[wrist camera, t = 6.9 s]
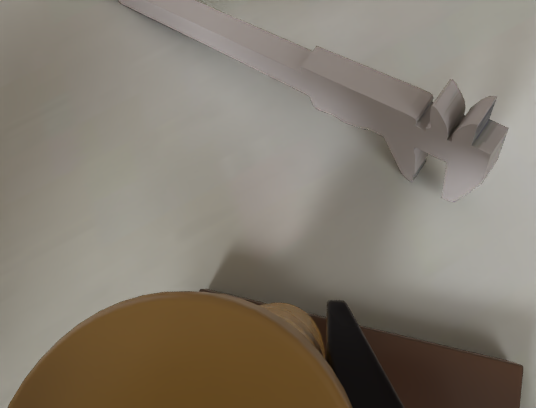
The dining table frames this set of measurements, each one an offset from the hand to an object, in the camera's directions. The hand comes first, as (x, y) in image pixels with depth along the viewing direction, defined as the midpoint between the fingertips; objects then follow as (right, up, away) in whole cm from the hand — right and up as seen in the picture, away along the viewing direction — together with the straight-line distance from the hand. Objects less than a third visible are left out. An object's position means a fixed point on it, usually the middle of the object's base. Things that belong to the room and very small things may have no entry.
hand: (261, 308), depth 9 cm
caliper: (0, +8, +9) cm, 13 cm away
